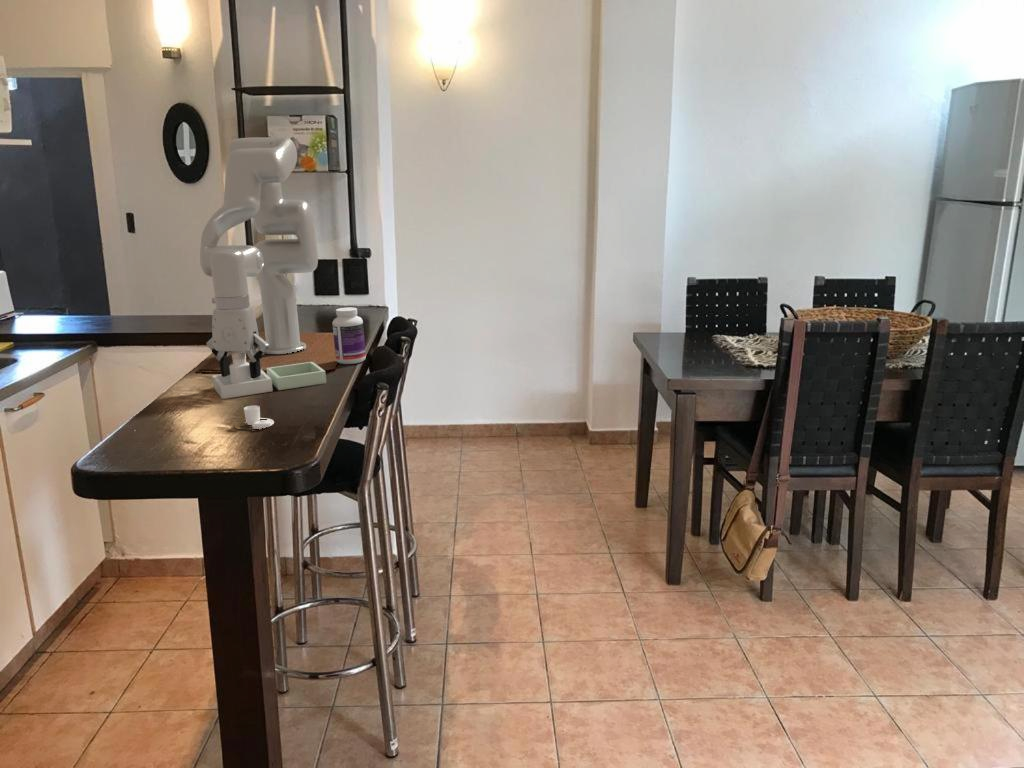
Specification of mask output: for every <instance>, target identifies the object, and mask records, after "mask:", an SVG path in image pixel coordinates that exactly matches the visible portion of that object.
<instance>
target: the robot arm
mask: <svg viewBox="0 0 1024 768" xmlns="http://www.w3.org/2000/svg"><path fill="white" fill-rule="evenodd" d="M227 154H228V156H227V157H226V163H225V177H224V189H223V190H224V192H223V202H222V203H223V204H222V206H220V207H219V209H218V210H217V211H215V212H214V213H213V215H212V216H211V217H210V218H209V219H208V221H207V222H206V224H205V226H204V227H203V230H202V233H201V238H200V249H199V264H200V268H201V271H202V272H203V273H204V275H206V276H207V277H210V278H212V279H211V280H212V286H213V294H214V297H212V298H211V303H212V304H215V308H214V309H213V310H212V317H211V318H212V321H211V332H212V334H211V335H212V336H211V338H210V339H209V340H208V341H206V346H207V347H208V348H209V350H211V353H212V354H213V355H214V356H215V357H216V358H215V359H216V360H217V361H219V369H220V372H221V375H222V377H225V376H228V375H230V368H229V366H230V365H231V358H230V357H229V354H230V353H231V352H237V353H246V356H248V358H249V360H250V361H249V362H248V363H249V367H250V376H251V378H253V379H254V378H256V377H259V376H260V375H261V369H262V368H261V360H262V358H263V357H264V355H265V354H267V355H286V354H287V353H288V354H293V353H292V352H294V353H298V352H297V351H299V352H301V351H300V350H302V351H304V350H306V349H307V344H306V343H305V342H303V341H301V337H300V336H301V335H300V325H299V314H298V305H297V304H298V303H297V293H296V289H295V285H294V284H293V283H292V281H291V280H290V279H289V278H288V276H287V274H306V273H308V274H309V273H312V272H314V271H315V270H316V269H317V268H318V266H319V265H318V264H319V263H318V262H319V256H318V246H317V237H316V230H315V222H314V215H313V210H312V208H311V206H310V204H309V203H308V202H307V201H305V200H303V199H297V198H295V199H285V198H284V197H283V191H282V186H281V185H282V184H281V183H283V182H285V181H287V179H288V178H289V176H290V175H291V173H293V171H294V169H295V168H296V165H297V162H298V150H297V147H296V144H295V142H294V140H292V139H291V138H289V137H283V136H275V137H274V136H273V137H272V136H270V137H263V136H262V137H256V136H255V137H254V136H253V137H243V138H242V137H240V138H235V139H233V140H231V141H230V142H229V143H228V144H227ZM251 219H253V224H254V227H255V230H256V231H257V233H259V234H261V235H262V236H263V235H265V236H290V235H291V236H295V237H296V238H275V239H274V238H271V239H263V240H261V241H259V242H257V243H256V244H255V245H254V246H253V245H233V244H232V245H218V243H219V241H220V238H222V236H223V235H224V234H225V233H226V232H228V231H229V230H230V229H232V228H234V227H236V226H238V225H240V224H243V223H244V222H246V221H249V220H251ZM256 276H257V277H258V283H259V290H260V299H261V309H262V316H263V318H262V319H263V327H264V334H265V336H264V337H265V340H264V339H263V338H262V337H261V336H260V335H259V328H258V323H257V319H256V316H255V313H254V310H253V307H251V305H250V304H251V303H250V295H249V287H248V278H249V277H256ZM303 349H304V350H303Z"/></svg>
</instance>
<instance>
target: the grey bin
mask: <svg viewBox="0 0 1024 768" xmlns="http://www.w3.org/2000/svg"><path fill="white" fill-rule="evenodd" d="M211 378H212V386H213V389H214V390H215V392H216V393H217V394H218V395H219V397H220V399H221V400H223V399H230V398H238V397H242V396H243V397H244V396H249V395H250V396H251V395H256V394H263V393H269V392H273V390H274V389H273V388H274V387H273V384H272V379H271V378H270V377H269V376H268V375H267V372H265V371H264V370H263V369H262V368H261V375H260V376H259V377H256V378H254V379H253V378H252V380H253V381H249V382H242V383H235V384H231V376H230V375H228V376H225V377H222V375H221V374H213V375H211Z"/></svg>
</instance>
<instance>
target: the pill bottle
mask: <svg viewBox="0 0 1024 768" xmlns="http://www.w3.org/2000/svg"><path fill="white" fill-rule="evenodd" d="M335 314H336V316H337V317H335V318H334V319H333V321H332V323H331V324H332V331H333V332H332V333H333V334H332V335H333V343H334V353H335V360H336V362H337V363H338V364H340V365H341V364H342V365H354V364H360V363H362V362H364V361H365V360H366V359H367V358H366V357H367V353H366V345H365V344H366V341H365V332H364V321H363V319H362V317H360V316H358V308H356V307H349V306H348V307H340V308H337V309H335Z"/></svg>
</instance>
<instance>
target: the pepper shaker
mask: <svg viewBox="0 0 1024 768" xmlns="http://www.w3.org/2000/svg"><path fill="white" fill-rule="evenodd" d="M230 353H231V360H232V364H231V365H230V366H229V368H230V376H231V384H235V383H242V382H249V381H253V380H252V378H251V376H250V367H249V362H247V353H237V352H230Z"/></svg>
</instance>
